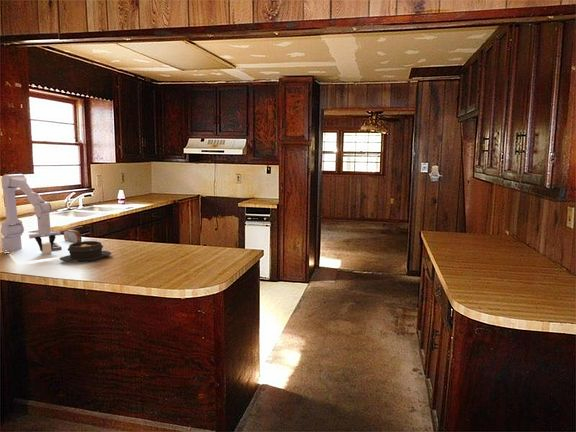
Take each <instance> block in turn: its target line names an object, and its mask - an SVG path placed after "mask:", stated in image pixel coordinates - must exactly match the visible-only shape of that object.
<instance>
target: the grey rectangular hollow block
mask: <svg viewBox="0 0 576 432" xmlns="http://www.w3.org/2000/svg"><path fill="white" fill-rule="evenodd" d="M62 249H63V248H62V246H61V245H60V244H58V243H57V242H55V241H54V243H53V246H52V250H51V252H52V251H61V250H62Z"/></svg>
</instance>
